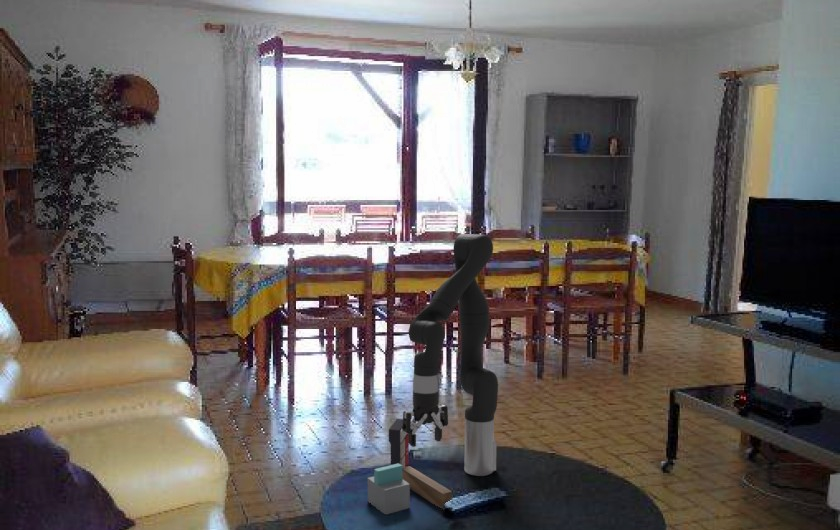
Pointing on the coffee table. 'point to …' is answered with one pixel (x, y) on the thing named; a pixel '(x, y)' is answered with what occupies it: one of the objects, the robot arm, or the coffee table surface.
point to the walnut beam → (426, 487)
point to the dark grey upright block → (399, 444)
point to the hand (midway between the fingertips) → (425, 443)
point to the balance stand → (389, 489)
